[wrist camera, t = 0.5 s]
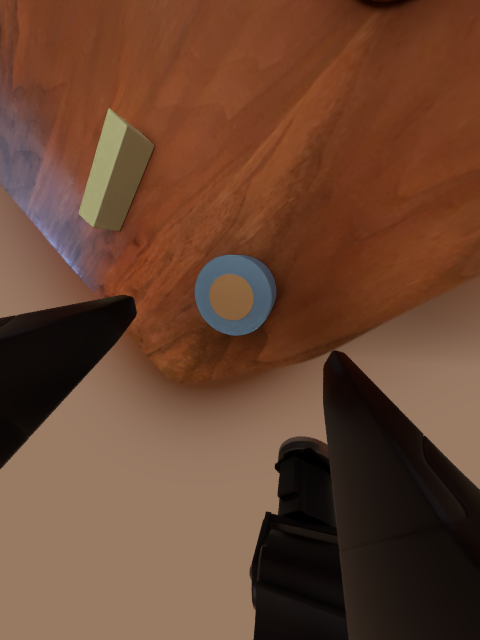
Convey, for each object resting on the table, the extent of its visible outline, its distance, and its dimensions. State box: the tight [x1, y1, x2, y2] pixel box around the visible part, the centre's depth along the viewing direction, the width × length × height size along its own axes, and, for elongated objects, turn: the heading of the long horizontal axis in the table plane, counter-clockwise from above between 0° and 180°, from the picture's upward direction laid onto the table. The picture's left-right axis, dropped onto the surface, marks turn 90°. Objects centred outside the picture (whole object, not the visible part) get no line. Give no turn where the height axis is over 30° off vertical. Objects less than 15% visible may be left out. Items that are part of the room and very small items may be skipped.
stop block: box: [79, 108, 154, 231], centre depth 18 cm, size 2×9×3 cm, turn 140°
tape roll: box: [195, 255, 276, 336], centre depth 18 cm, size 7×7×3 cm
